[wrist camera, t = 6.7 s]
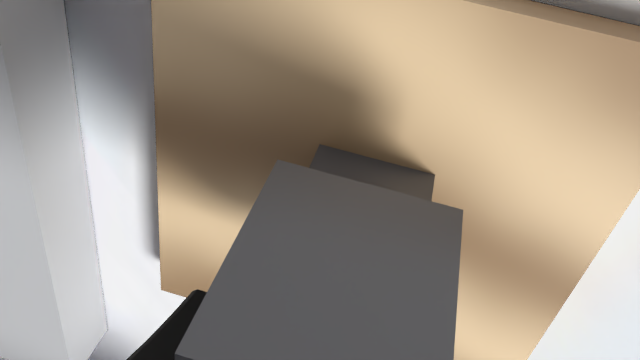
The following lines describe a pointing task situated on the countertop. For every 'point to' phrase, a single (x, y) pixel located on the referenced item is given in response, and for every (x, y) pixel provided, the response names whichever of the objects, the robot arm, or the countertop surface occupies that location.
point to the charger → (336, 269)
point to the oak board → (407, 133)
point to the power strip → (44, 194)
